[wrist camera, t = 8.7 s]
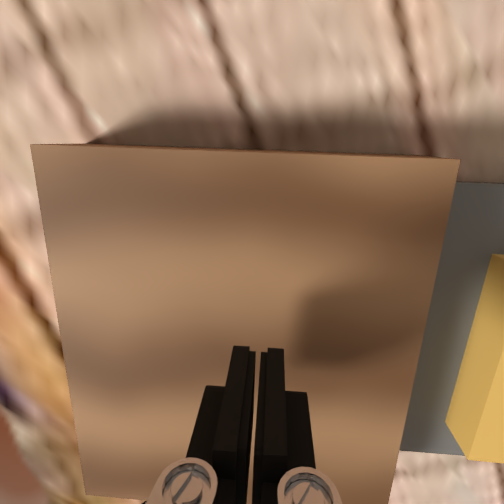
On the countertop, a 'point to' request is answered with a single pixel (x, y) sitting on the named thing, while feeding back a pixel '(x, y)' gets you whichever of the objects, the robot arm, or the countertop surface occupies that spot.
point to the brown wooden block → (239, 295)
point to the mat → (453, 312)
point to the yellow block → (482, 376)
